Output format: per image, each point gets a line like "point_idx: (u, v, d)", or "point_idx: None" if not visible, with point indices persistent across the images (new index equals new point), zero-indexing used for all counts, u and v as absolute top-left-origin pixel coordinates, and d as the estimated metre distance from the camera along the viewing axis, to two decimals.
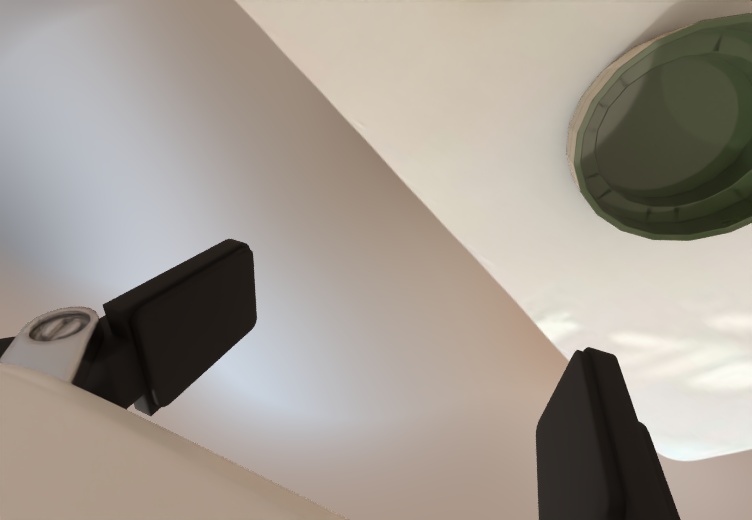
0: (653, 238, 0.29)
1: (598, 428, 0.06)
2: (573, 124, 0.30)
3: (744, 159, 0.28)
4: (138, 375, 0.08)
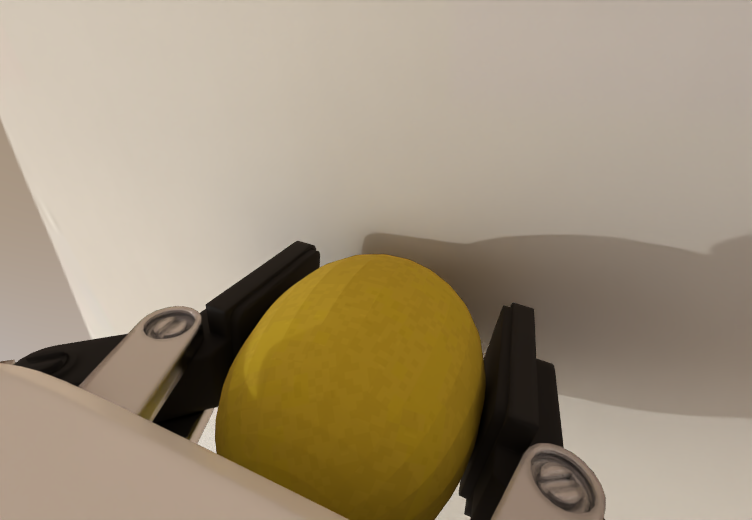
0: None
1: (502, 359, 0.07)
2: None
3: None
4: None
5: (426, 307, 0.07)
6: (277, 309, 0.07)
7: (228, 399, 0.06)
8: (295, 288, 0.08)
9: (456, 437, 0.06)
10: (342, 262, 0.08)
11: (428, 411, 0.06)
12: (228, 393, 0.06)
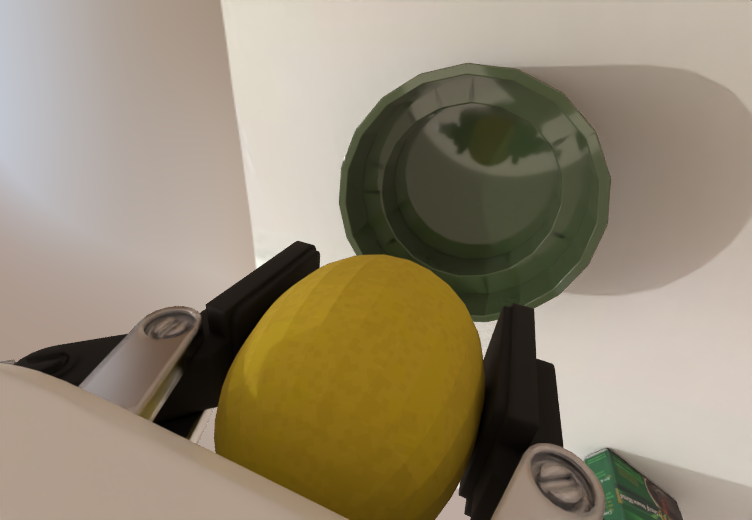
0: None
1: (502, 359, 0.07)
2: None
3: (489, 263, 0.26)
4: None
5: (427, 308, 0.07)
6: (276, 310, 0.07)
7: (227, 400, 0.06)
8: (294, 289, 0.08)
9: (455, 439, 0.06)
10: (342, 263, 0.08)
11: (428, 413, 0.06)
12: (227, 394, 0.06)
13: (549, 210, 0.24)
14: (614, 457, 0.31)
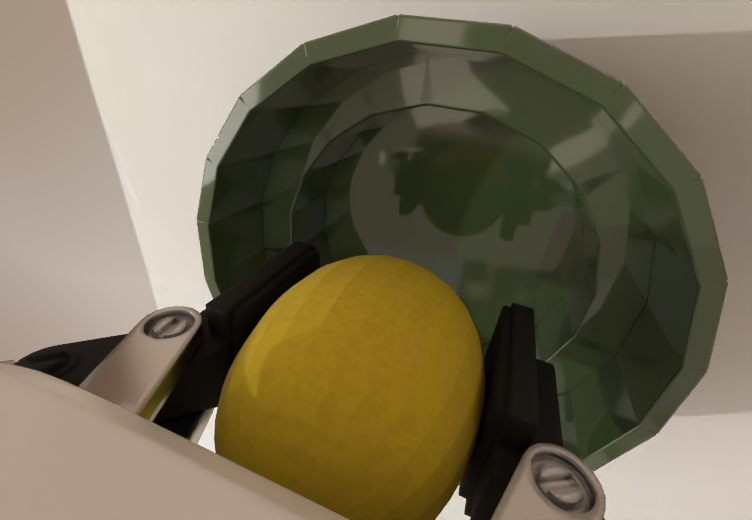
0: None
1: (502, 359, 0.07)
2: None
3: None
4: None
5: (427, 308, 0.07)
6: (276, 310, 0.07)
7: (227, 401, 0.06)
8: (294, 289, 0.08)
9: (455, 439, 0.06)
10: (342, 263, 0.08)
11: (428, 413, 0.06)
12: (227, 395, 0.06)
13: (568, 284, 0.14)
14: None
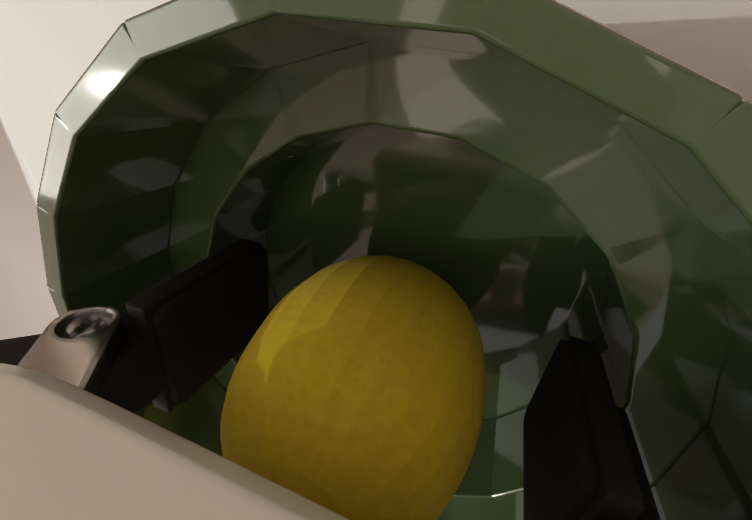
0: None
1: (577, 411, 0.07)
2: None
3: None
4: (159, 372, 0.08)
5: (429, 307, 0.07)
6: (281, 310, 0.07)
7: (233, 399, 0.06)
8: (298, 289, 0.08)
9: (458, 436, 0.06)
10: (345, 263, 0.08)
11: (431, 411, 0.06)
12: (233, 393, 0.06)
13: None
14: None
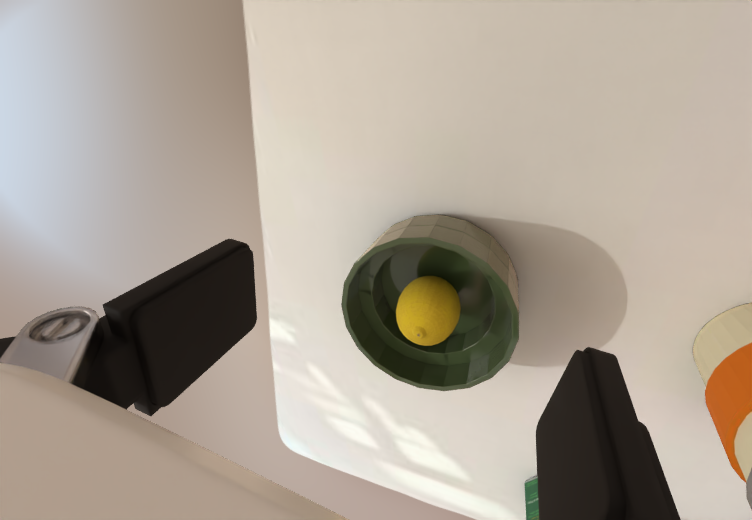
0: (358, 347, 0.34)
1: (598, 428, 0.06)
2: (388, 231, 0.32)
3: (450, 341, 0.36)
4: (138, 375, 0.08)
5: (446, 289, 0.30)
6: (411, 289, 0.30)
7: (406, 307, 0.29)
8: (413, 284, 0.31)
9: (453, 315, 0.29)
10: (423, 278, 0.31)
11: (448, 309, 0.29)
12: (405, 306, 0.29)
13: (491, 308, 0.34)
14: None
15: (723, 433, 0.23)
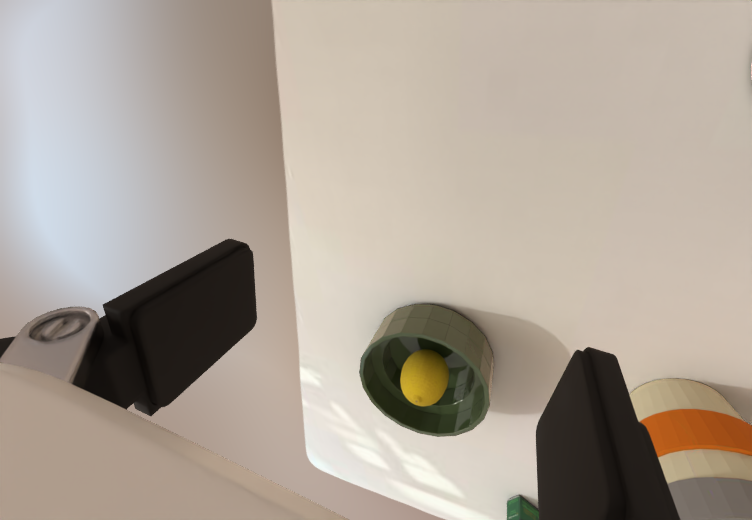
0: (372, 402, 0.44)
1: (598, 428, 0.06)
2: (394, 318, 0.42)
3: (443, 395, 0.46)
4: (138, 375, 0.08)
5: (437, 364, 0.40)
6: (411, 364, 0.41)
7: (407, 379, 0.40)
8: (413, 359, 0.41)
9: (442, 385, 0.39)
10: (420, 353, 0.42)
11: (438, 381, 0.39)
12: (406, 378, 0.40)
13: (474, 372, 0.44)
14: (523, 501, 0.51)
15: None
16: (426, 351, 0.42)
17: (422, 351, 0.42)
